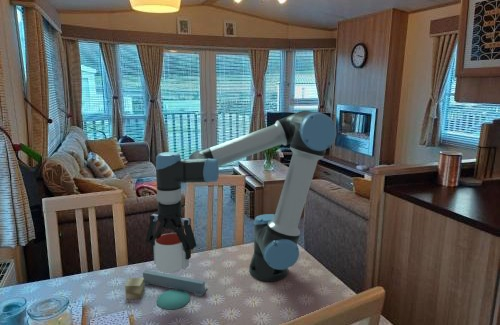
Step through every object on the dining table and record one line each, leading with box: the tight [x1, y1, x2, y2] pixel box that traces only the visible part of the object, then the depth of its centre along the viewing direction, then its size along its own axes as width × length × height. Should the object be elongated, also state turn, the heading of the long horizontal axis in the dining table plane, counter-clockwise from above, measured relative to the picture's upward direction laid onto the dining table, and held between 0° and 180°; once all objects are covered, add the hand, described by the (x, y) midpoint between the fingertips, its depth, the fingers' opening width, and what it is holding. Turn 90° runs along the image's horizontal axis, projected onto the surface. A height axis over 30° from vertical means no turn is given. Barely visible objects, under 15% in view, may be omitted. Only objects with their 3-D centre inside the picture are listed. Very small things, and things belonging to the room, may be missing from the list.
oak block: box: [124, 277, 146, 300], centre depth 120 cm, size 5×5×5 cm
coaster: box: [156, 289, 191, 311], centre depth 117 cm, size 11×11×1 cm
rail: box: [142, 269, 208, 298], centre depth 125 cm, size 24×5×4 cm, turn 72°
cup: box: [155, 232, 184, 274], centre depth 114 cm, size 10×10×10 cm
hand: (171, 264), depth 115 cm, fingers closed on cup, 10 cm apart
